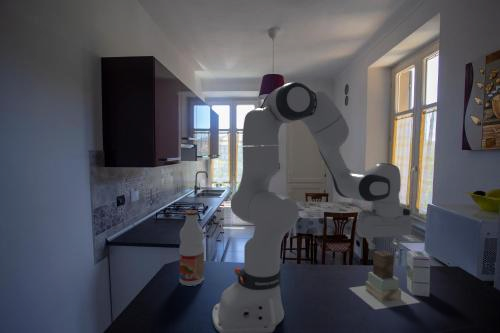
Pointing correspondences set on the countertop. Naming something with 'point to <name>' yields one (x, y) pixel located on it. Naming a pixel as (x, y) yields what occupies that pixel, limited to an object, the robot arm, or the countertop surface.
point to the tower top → (383, 282)
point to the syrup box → (418, 273)
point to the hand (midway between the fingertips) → (383, 248)
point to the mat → (379, 305)
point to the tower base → (383, 293)
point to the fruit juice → (191, 251)
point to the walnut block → (383, 264)
